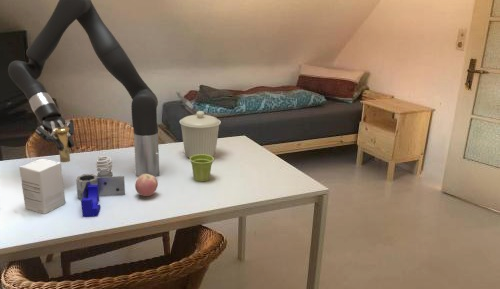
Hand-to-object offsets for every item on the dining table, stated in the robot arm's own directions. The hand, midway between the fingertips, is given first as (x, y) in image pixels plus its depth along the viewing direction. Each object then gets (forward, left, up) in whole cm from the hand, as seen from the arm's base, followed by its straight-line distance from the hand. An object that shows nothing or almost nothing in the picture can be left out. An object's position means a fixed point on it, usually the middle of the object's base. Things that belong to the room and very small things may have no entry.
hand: (67, 148), depth 151 cm
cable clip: (-9, +15, -17) cm, 24 cm away
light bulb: (-12, -3, -16) cm, 20 cm away
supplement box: (+6, +12, -16) cm, 21 cm away
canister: (-50, -32, -16) cm, 61 cm away
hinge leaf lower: (-7, +10, -16) cm, 20 cm away
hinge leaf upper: (-11, +5, -16) cm, 20 cm away
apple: (-27, +7, -16) cm, 32 cm away
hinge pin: (+1, -2, -5) cm, 6 cm away
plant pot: (-48, -6, -16) cm, 51 cm away
